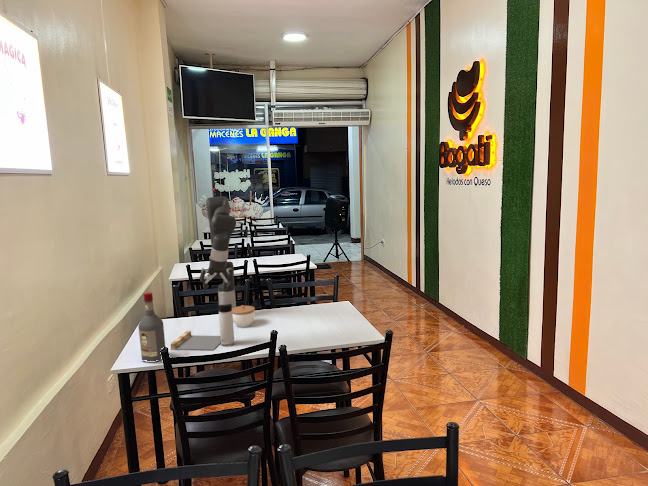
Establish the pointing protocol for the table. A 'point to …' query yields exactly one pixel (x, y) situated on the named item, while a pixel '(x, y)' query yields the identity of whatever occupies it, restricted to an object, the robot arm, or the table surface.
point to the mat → (200, 343)
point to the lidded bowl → (243, 315)
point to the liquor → (151, 332)
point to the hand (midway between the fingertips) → (214, 289)
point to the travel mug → (226, 325)
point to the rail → (180, 340)
